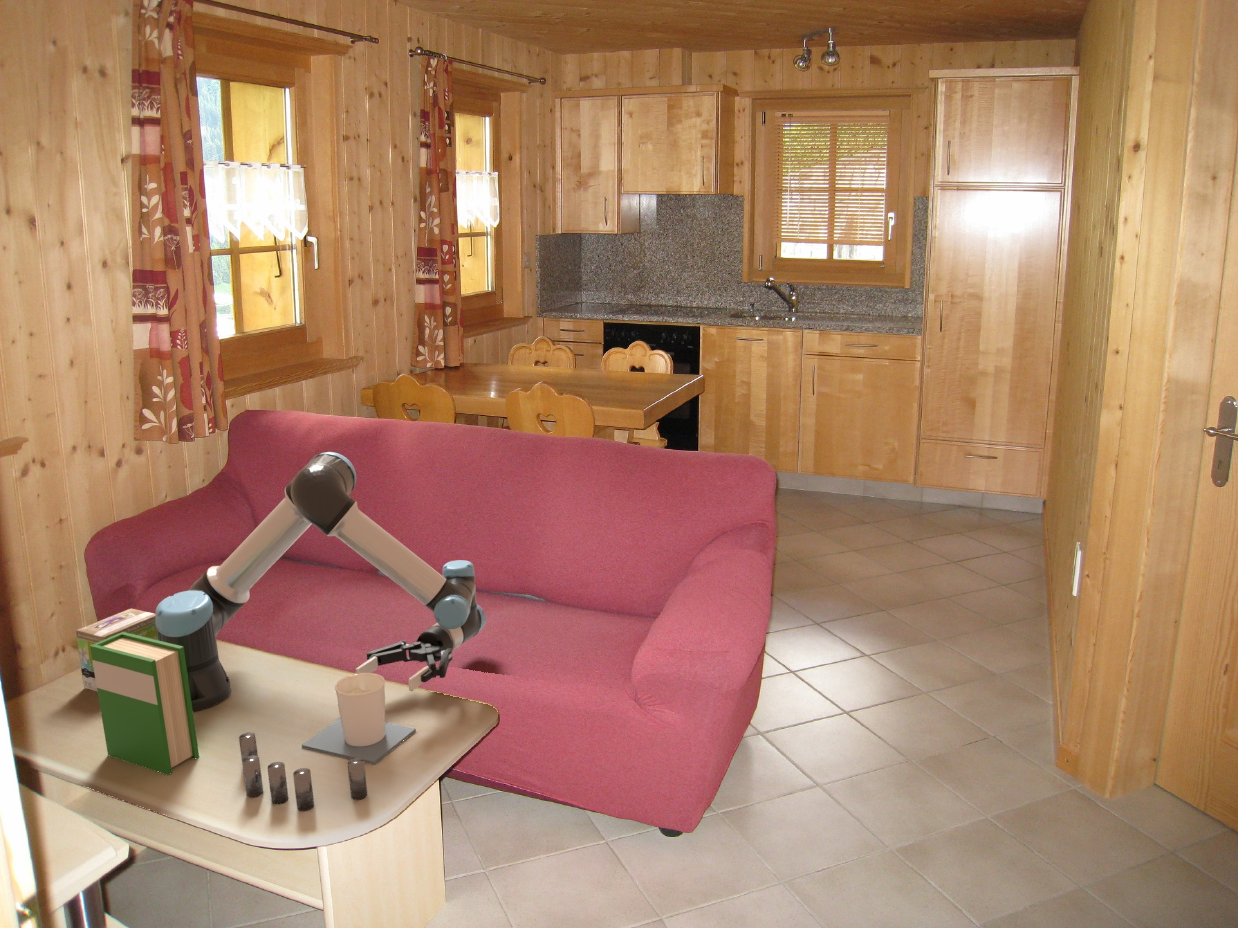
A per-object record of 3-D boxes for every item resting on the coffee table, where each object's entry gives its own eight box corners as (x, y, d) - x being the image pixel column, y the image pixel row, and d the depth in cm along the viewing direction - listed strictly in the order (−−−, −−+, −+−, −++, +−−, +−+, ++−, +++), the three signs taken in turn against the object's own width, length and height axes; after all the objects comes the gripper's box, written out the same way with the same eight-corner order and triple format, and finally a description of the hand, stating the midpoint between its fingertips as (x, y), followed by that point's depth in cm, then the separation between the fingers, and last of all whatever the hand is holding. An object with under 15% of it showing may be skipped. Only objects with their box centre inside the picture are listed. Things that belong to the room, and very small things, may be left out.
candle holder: (344, 726, 211) (339, 674, 208) (392, 723, 212) (387, 671, 209) (336, 750, 201) (331, 695, 198) (386, 747, 202) (381, 692, 199)
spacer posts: (214, 788, 190) (210, 754, 188) (250, 763, 199) (246, 731, 197) (337, 820, 179) (334, 785, 177) (370, 792, 187) (367, 759, 186)
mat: (301, 747, 204) (301, 744, 204) (345, 716, 216) (345, 713, 216) (374, 764, 197) (374, 761, 197) (415, 731, 209) (415, 728, 209)
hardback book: (199, 756, 202) (183, 646, 196) (168, 775, 195) (151, 661, 189) (139, 738, 209) (123, 631, 204) (108, 755, 203) (89, 645, 197)
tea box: (113, 696, 228) (103, 636, 225) (83, 689, 232) (73, 629, 229) (167, 669, 241) (159, 612, 238) (138, 662, 246) (129, 606, 242)
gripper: (487, 663, 228) (434, 705, 209) (396, 647, 237) (337, 686, 219) (485, 633, 226) (431, 672, 207) (393, 618, 236) (334, 654, 217)
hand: (383, 679), depth 213 cm, fingers open, 13 cm apart
